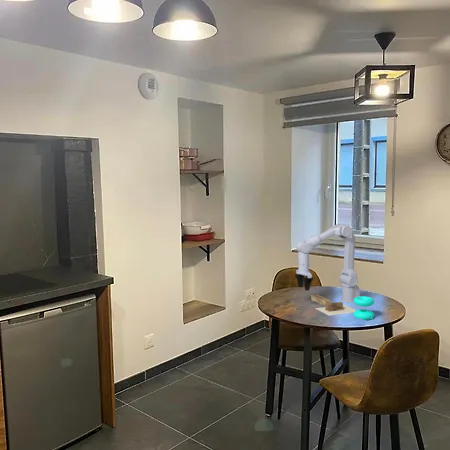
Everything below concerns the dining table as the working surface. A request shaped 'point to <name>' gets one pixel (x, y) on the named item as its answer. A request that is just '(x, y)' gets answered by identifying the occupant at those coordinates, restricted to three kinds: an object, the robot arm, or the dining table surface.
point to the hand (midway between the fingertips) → (303, 288)
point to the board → (346, 310)
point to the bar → (320, 299)
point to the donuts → (363, 302)
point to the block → (334, 306)
